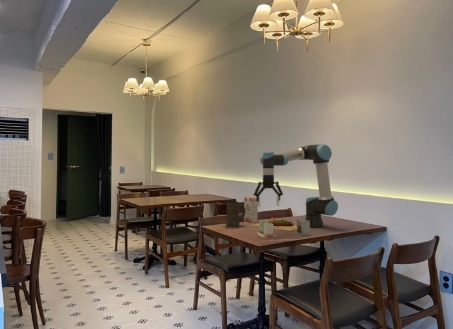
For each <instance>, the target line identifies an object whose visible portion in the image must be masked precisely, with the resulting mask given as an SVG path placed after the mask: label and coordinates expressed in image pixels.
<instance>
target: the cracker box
mask: <svg viewBox="0 0 453 329" xmlns="http://www.w3.org/2000/svg"><path fill="white" fill-rule="evenodd" d="M243 202H244V203H243V204H244V207H245V216H244V218H243V220H244V222H245V221H246V222H248V223H251V222H252V223H251V224H255V223H256V222H257V223H258V218H259V216H258V208H259V206H258V201H256V196H248V195H247V196H244V200H243ZM257 223H256V224H257Z"/></svg>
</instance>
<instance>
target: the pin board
mask: <svg viewBox="0 0 453 329" xmlns="http://www.w3.org/2000/svg"><path fill="white" fill-rule="evenodd" d="M254 233H255V234H257V235H258V236H259V237H261V238H269V237H270V238H271V237H278V235H276V234H275V233H273V234H274V236H268V237H266V236H264V235H263V234H261V233H259V231H255V232H254Z"/></svg>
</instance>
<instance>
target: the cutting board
mask: <svg viewBox="0 0 453 329" xmlns="http://www.w3.org/2000/svg"><path fill="white" fill-rule="evenodd" d="M267 221H268V222H269V223H272V224H273V229H276V230H284V231H289V232H297V224H296V225H295V223H294V222H291V221H289V220H286V219H284V218H281V219H279V218H278V219H277V220H276V219H275V218H274V217H271V218H270V219H267ZM251 226H252V227H253V226H255V227H254V228H258V227H259V223H256V224H255V223H252V225H251Z"/></svg>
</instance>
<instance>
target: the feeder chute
mask: <svg viewBox="0 0 453 329" xmlns="http://www.w3.org/2000/svg"><path fill="white" fill-rule="evenodd" d="M296 225H297V231H296V234H297V235H299V236H302V237H305V236H310V235H311V227H310V221H308V220H305V218H304V219H296Z"/></svg>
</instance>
